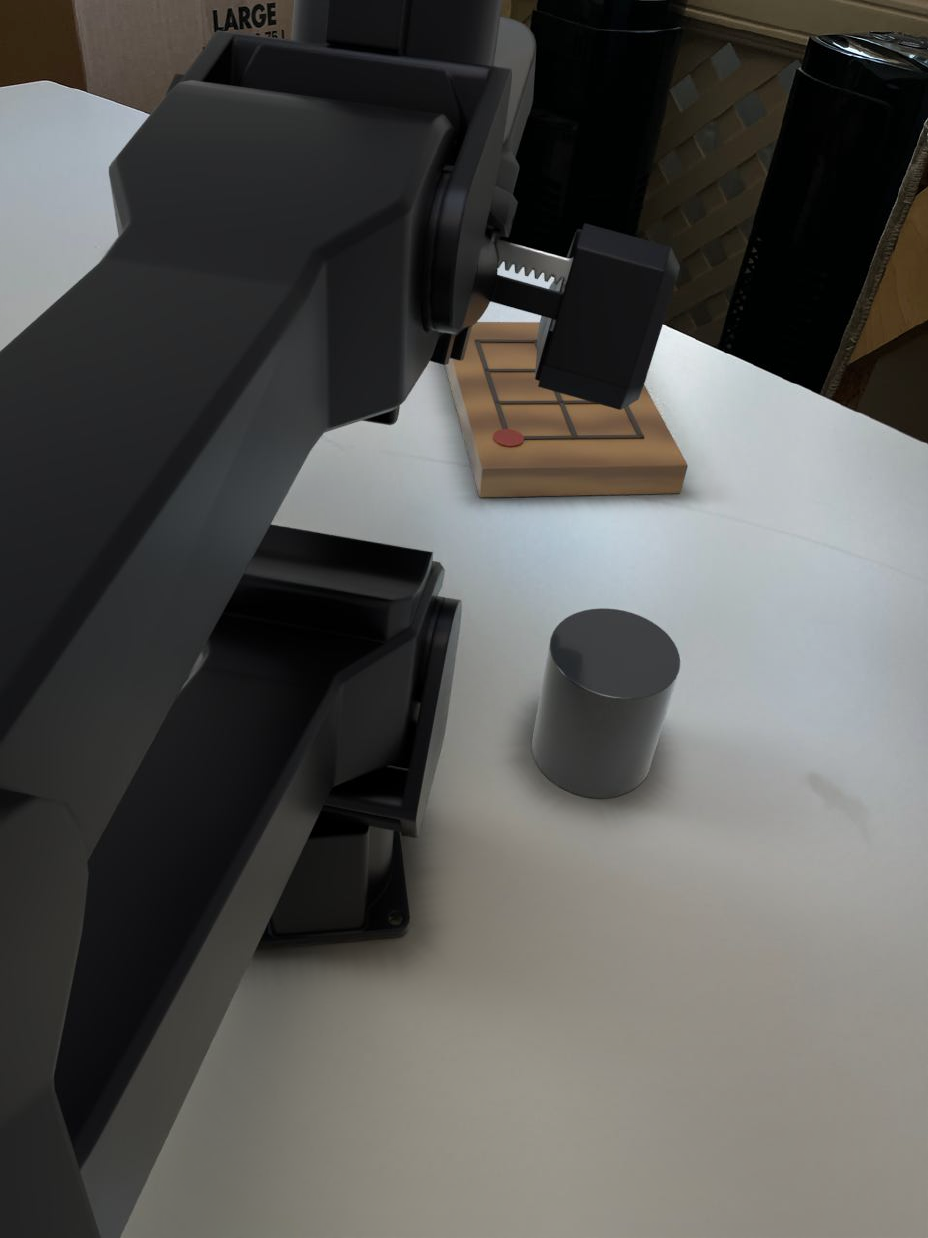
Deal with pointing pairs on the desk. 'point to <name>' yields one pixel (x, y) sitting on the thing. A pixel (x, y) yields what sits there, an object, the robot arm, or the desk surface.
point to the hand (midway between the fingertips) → (456, 278)
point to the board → (552, 427)
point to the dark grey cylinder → (603, 701)
